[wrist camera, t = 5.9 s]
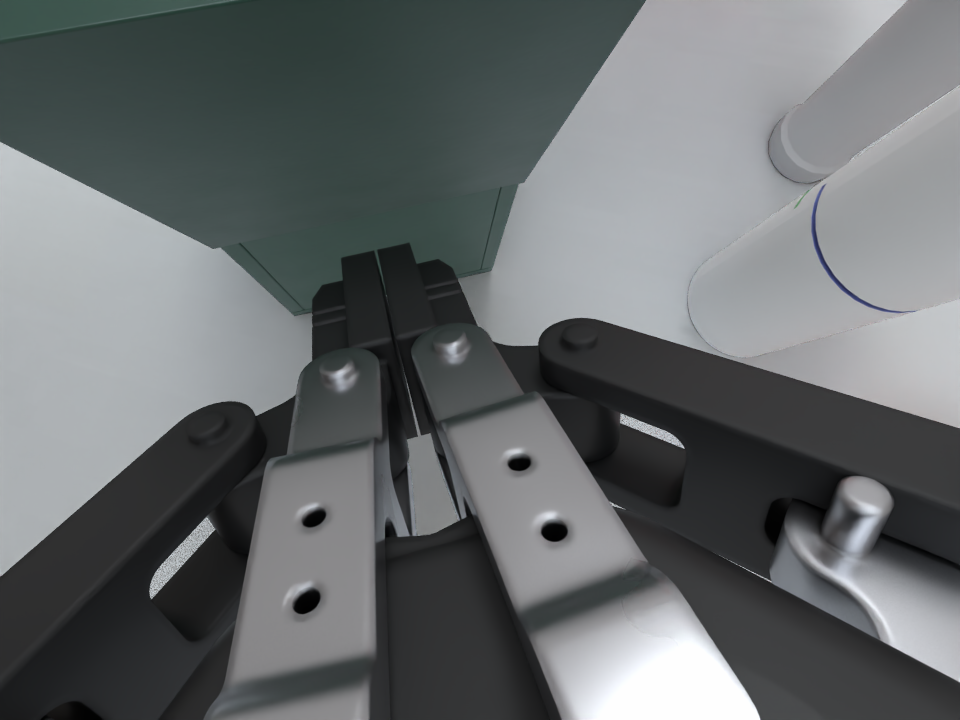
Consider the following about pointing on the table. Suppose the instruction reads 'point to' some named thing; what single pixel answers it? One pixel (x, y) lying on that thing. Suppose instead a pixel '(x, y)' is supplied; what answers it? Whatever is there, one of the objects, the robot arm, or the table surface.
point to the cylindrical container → (844, 247)
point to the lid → (294, 101)
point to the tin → (379, 244)
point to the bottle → (872, 91)
